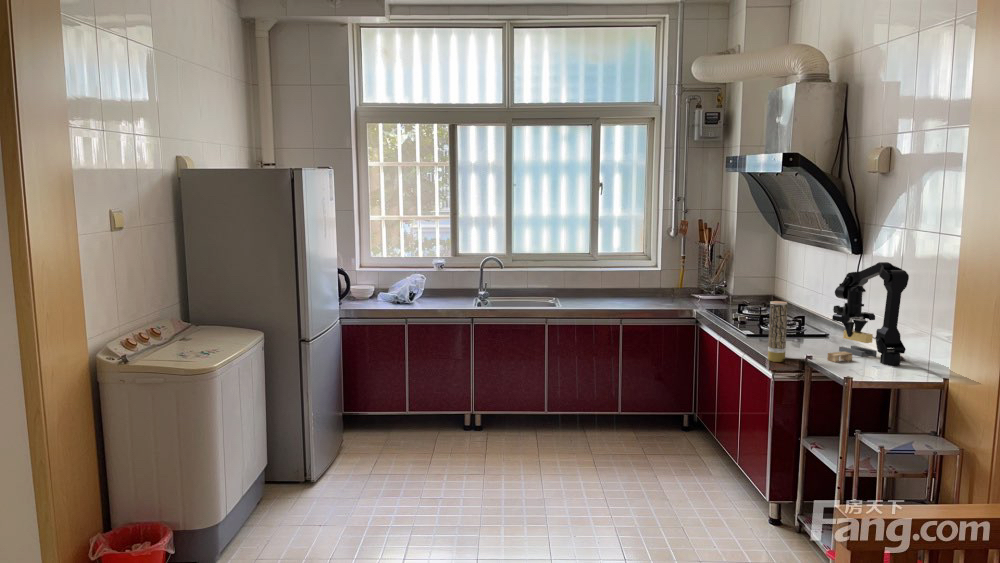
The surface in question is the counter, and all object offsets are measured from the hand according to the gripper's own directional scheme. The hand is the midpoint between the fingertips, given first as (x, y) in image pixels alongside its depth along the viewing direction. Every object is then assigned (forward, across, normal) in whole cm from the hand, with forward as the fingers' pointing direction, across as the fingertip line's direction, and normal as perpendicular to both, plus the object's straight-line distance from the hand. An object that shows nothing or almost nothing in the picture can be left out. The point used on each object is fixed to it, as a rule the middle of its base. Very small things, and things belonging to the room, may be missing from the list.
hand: (852, 336), depth 304 cm
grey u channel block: (+8, 0, +3) cm, 9 cm away
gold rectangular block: (-1, 0, +3) cm, 3 cm away
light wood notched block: (+8, +19, +12) cm, 24 cm away
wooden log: (+8, +39, -2) cm, 40 cm away
